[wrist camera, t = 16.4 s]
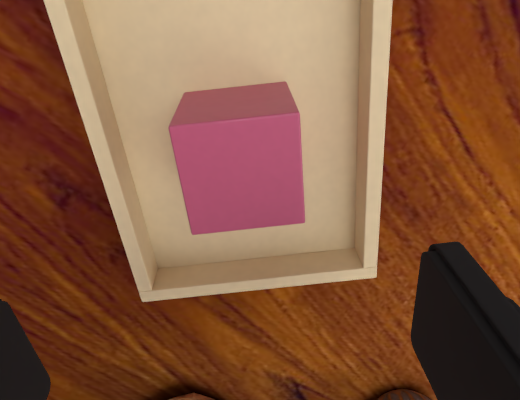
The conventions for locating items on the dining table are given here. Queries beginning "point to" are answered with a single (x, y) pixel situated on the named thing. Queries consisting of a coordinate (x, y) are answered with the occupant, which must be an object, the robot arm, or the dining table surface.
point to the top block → (239, 157)
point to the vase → (403, 395)
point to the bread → (191, 397)
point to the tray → (224, 76)
